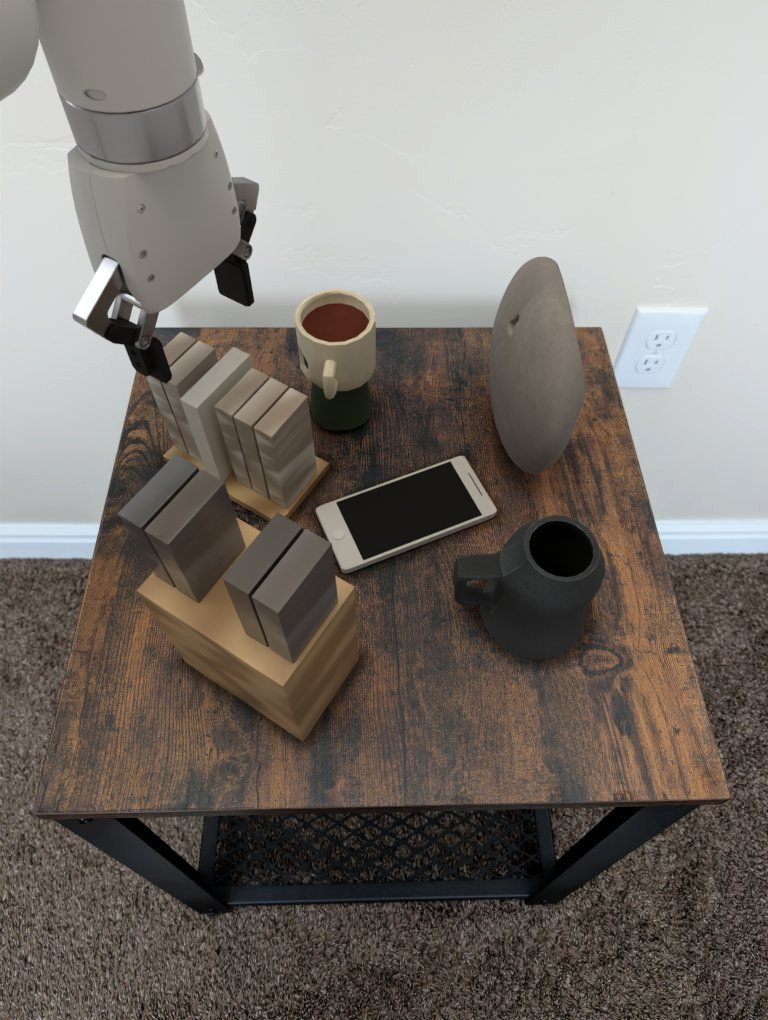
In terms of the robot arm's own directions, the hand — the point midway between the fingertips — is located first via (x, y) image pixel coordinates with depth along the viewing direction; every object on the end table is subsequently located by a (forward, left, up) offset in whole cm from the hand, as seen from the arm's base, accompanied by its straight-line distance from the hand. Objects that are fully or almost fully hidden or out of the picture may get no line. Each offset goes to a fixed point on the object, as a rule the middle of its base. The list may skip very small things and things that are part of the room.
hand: (197, 334), depth 54 cm
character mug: (+5, +11, -17) cm, 21 cm away
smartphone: (+17, +4, -17) cm, 25 cm away
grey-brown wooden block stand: (+1, 0, -17) cm, 17 cm away
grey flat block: (0, 0, -16) cm, 16 cm away
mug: (+30, +1, -17) cm, 35 cm away
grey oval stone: (+22, +18, -17) cm, 33 cm away
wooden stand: (+15, -14, -17) cm, 27 cm away
